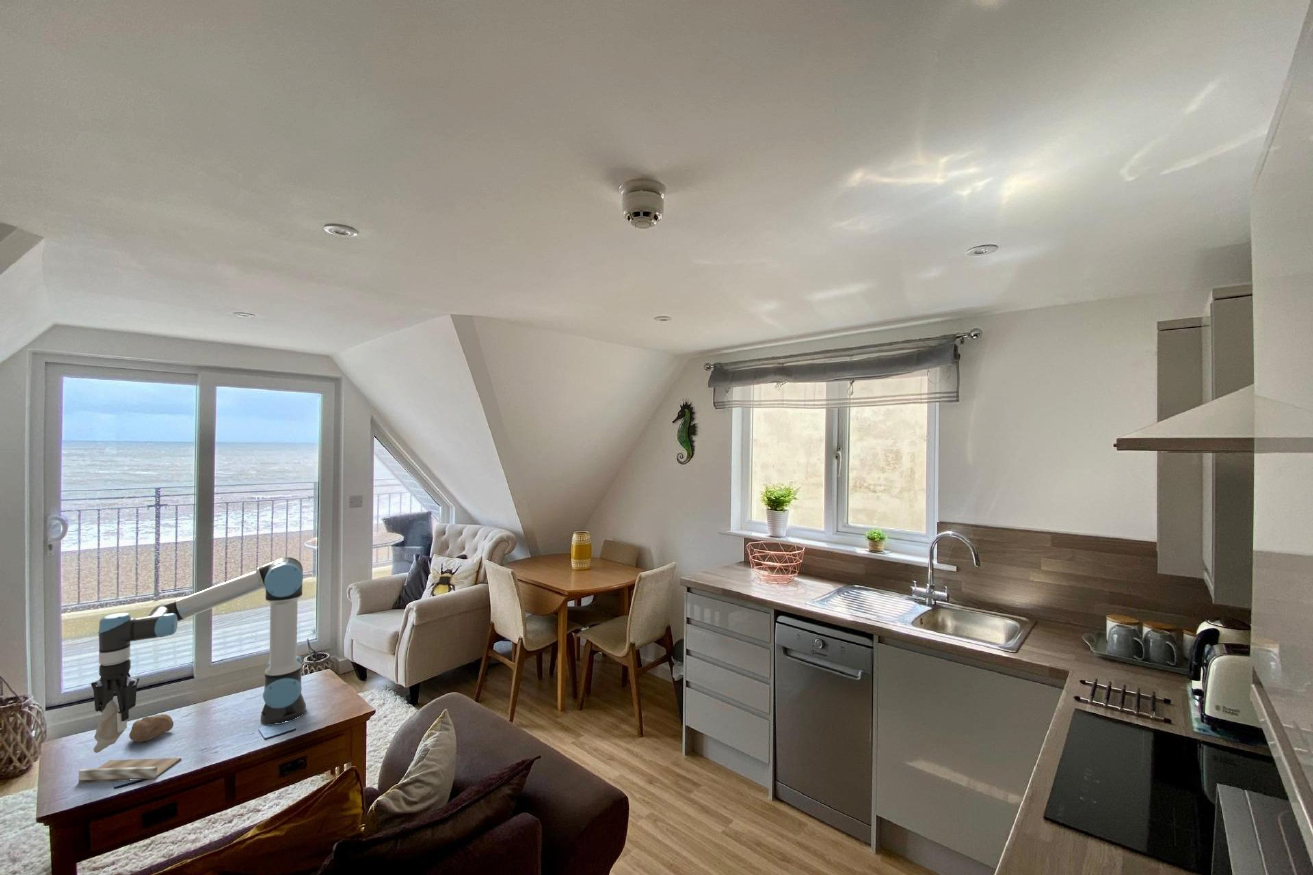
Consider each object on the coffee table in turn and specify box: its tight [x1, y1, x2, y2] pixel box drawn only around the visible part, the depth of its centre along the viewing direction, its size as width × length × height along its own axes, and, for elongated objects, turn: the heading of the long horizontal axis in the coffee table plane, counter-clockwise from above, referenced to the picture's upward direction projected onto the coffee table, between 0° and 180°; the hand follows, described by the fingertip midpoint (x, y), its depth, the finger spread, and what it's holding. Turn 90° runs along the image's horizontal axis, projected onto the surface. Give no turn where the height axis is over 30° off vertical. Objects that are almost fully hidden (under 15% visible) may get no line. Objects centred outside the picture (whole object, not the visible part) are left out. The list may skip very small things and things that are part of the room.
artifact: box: [93, 699, 126, 754], centre depth 182 cm, size 9×3×15 cm, turn 175°
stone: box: [128, 713, 174, 743], centre depth 204 cm, size 12×9×10 cm
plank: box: [78, 757, 182, 784], centre depth 182 cm, size 23×11×4 cm, turn 94°
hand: (115, 730), depth 184 cm, fingers closed on artifact, 3 cm apart
